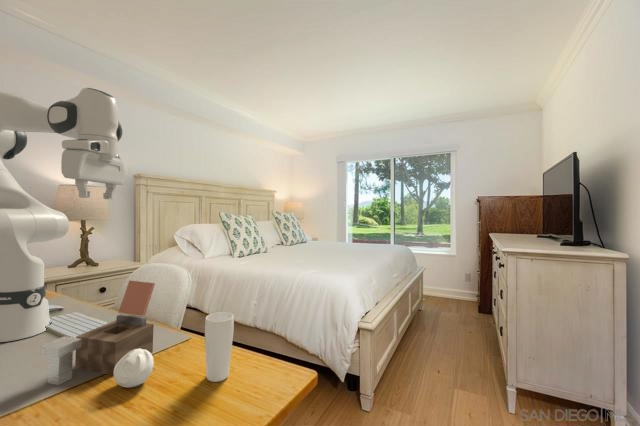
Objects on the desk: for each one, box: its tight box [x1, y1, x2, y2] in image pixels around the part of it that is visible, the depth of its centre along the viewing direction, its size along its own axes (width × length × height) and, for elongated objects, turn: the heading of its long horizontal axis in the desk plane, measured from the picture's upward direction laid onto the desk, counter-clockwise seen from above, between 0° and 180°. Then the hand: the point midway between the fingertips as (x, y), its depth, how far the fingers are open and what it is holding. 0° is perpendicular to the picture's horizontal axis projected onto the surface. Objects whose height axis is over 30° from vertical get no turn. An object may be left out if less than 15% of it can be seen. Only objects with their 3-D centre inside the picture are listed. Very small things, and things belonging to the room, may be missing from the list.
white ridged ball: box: [113, 348, 155, 389], centre depth 68 cm, size 8×8×8 cm
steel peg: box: [39, 335, 82, 386], centre depth 68 cm, size 5×5×9 cm
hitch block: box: [74, 313, 154, 376], centre depth 78 cm, size 12×12×10 cm
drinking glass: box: [204, 311, 235, 383], centre depth 72 cm, size 7×7×15 cm
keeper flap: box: [118, 280, 156, 317], centre depth 84 cm, size 9×8×1 cm
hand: (96, 198), depth 81 cm, fingers open, 8 cm apart
